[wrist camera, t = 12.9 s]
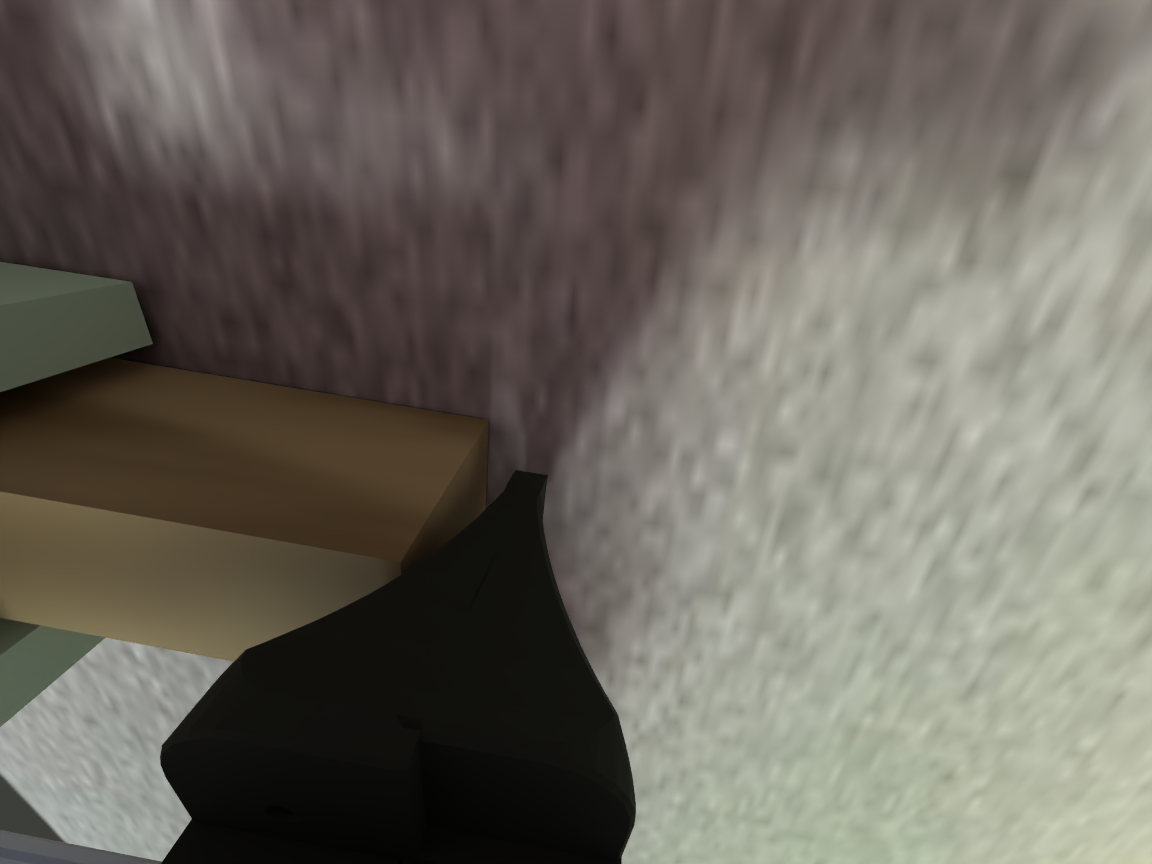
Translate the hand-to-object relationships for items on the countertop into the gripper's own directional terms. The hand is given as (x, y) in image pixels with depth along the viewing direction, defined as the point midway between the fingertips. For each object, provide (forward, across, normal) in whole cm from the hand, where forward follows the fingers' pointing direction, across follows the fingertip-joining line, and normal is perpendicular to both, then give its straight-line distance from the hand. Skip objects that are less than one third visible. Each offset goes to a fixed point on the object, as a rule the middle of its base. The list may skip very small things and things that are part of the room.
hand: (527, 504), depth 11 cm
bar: (+1, +7, 0) cm, 7 cm away
